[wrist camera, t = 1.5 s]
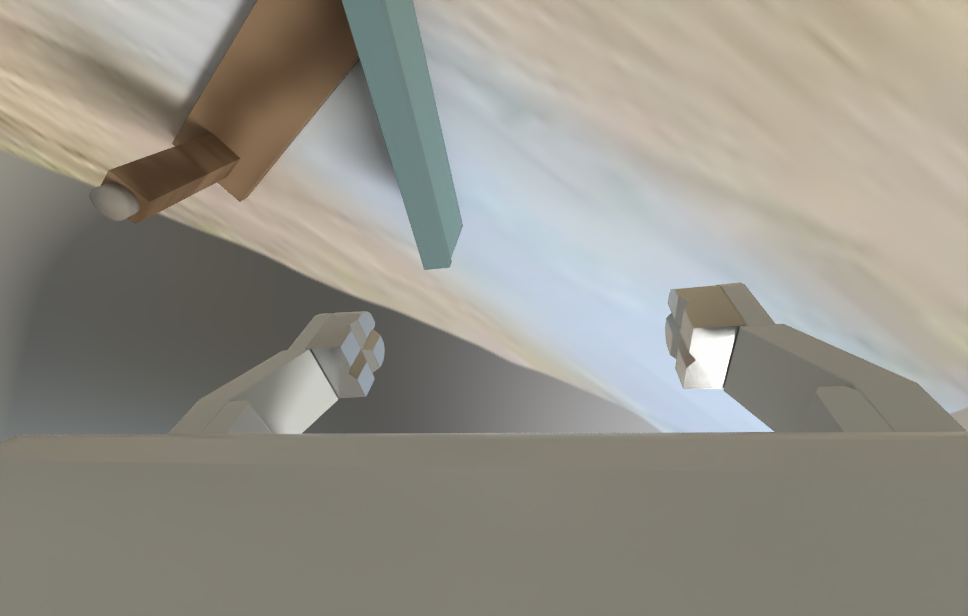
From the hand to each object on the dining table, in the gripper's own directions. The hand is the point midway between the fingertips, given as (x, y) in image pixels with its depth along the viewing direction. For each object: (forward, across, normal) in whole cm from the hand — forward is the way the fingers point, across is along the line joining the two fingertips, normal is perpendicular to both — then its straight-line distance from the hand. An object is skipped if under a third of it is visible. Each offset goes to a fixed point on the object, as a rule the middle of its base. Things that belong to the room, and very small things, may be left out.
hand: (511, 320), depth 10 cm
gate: (+21, +7, -4) cm, 22 cm away
